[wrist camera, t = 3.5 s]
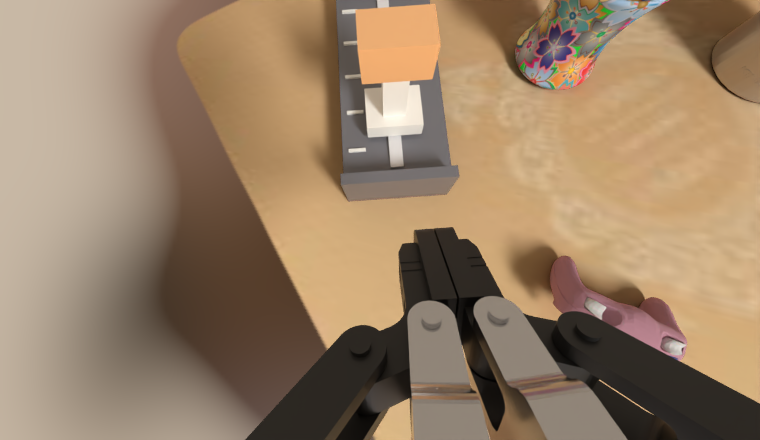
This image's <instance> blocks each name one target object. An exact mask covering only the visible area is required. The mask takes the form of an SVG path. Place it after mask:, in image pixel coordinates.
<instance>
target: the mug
mask: <svg viewBox="0 0 760 440" xmlns="http://www.w3.org/2000/svg"><path fill="white" fill-rule="evenodd" d="M667 1H669V0H551V1H550V3H549V5H548V6H547V8H546V10H545V11H544V13H543V14H542V16H541V17H540V18H539V20H538V21H537V22H536V23H535V24H534V25H533V26H532V27H530V28H529V29H527V30H526V31H525V32H524V33H523V34H522V35H521V36H520V38H519V40H518V42H517V44H516V49H515V58H516V62H517V65H518V67H519V69H520V71H521V72H522V74H523V75H524V76H525V77H526V78H527V79H528V80H530V81H531V82H533V83H534V84H536V85H538V86H541V87H543V88H547V89H553V90H562V89H568V88H572V87H574V86H577V85H579V84H580V83H582V82H583V81H584V80H586V79H587V78H588V76H589V75H590V74H591V72H592V70H593V68H594V65H595V61H596V59H597V57H598V56H599V54H600V52H601V51H602V50H603V49H604V47H605V46H606V45H607V44H608V43H609V42H610V41H611V40H612V39H613V38H614V37H615V36H616V35H617V34H618V33H619V32H620V31H622V30H623V29H624V28H625V27H627V26H628V25H629V24H631V23H632V22H633V21H635V20H636V19H638V18H639V17H641V16H642V15H644V14H646V13H647V12H649V11H651V10H652V9H654V8H656V7H658V6H660V5H662V4H664V3H666V2H667Z"/></svg>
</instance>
